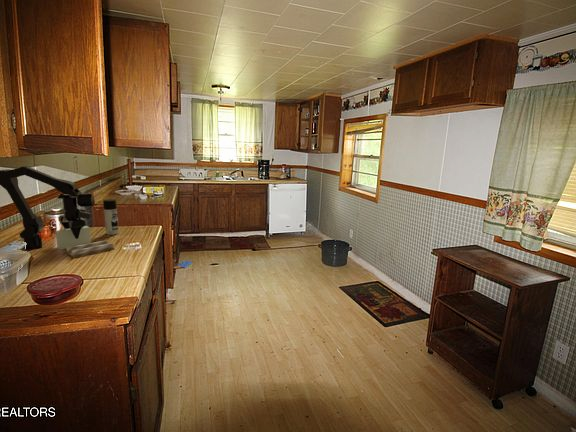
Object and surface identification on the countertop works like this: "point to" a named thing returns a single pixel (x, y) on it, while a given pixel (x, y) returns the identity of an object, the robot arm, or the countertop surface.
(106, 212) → the spray can
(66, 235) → the pale green rectangular block
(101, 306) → the countertop surface
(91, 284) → the countertop surface
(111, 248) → the bottom track
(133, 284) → the countertop surface
